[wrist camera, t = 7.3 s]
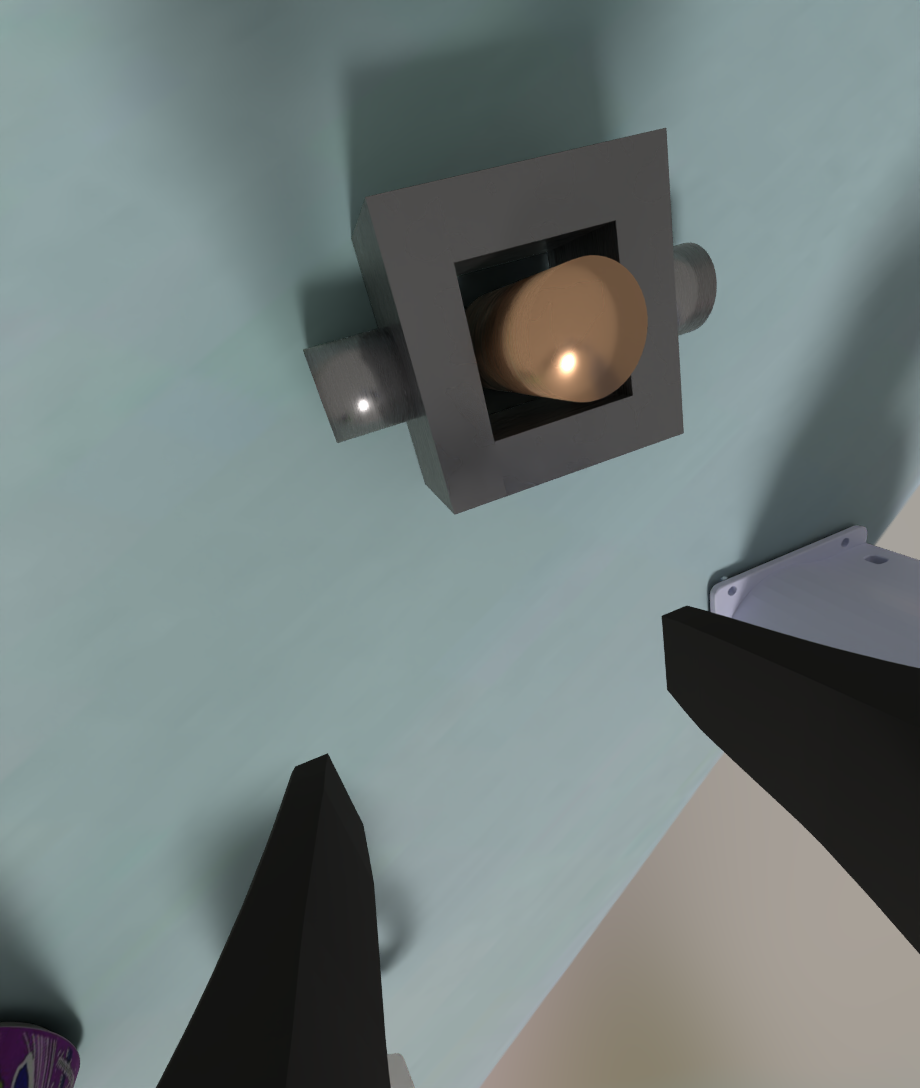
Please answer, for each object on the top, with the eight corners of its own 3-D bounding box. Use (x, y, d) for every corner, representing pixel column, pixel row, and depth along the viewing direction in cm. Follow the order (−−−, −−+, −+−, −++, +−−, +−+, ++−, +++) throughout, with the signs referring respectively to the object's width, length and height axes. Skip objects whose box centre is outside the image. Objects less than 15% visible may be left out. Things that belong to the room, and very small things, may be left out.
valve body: (649, 165, 16) (747, 109, 13) (666, 401, 19) (747, 410, 16) (269, 258, 14) (255, 222, 10) (360, 505, 17) (373, 543, 14)
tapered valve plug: (533, 281, 16) (642, 241, 11) (547, 377, 18) (651, 383, 12) (446, 303, 16) (516, 271, 10) (467, 400, 17) (539, 417, 12)
